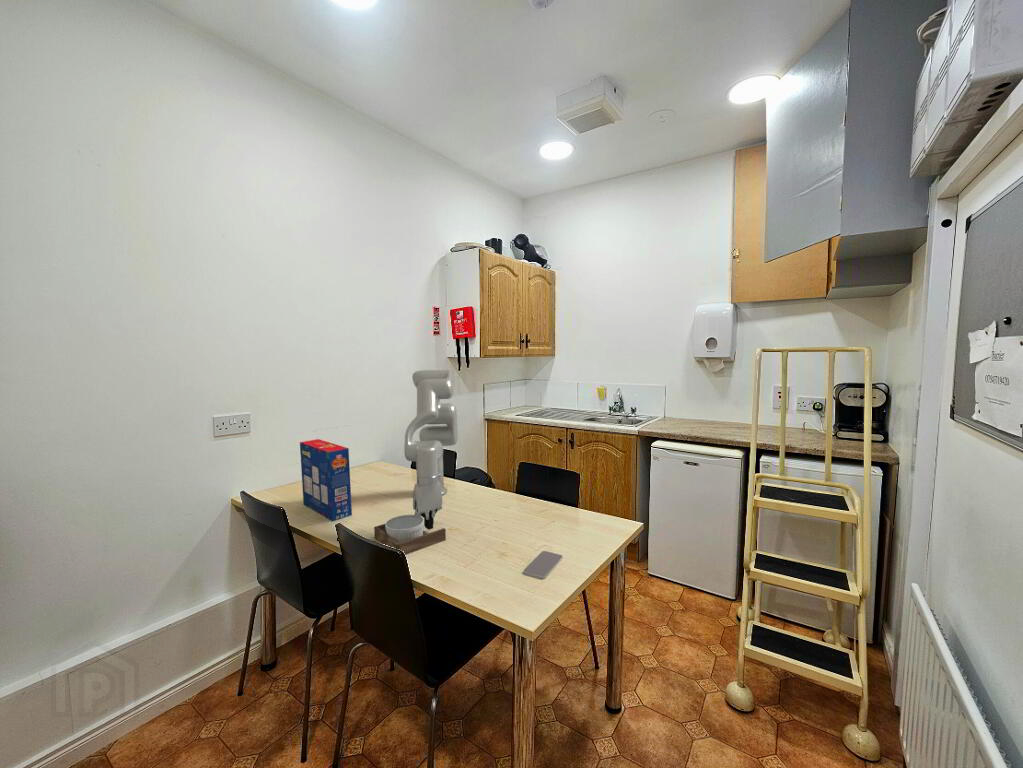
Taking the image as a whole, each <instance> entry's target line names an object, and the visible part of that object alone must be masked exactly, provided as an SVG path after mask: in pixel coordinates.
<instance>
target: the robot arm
mask: <svg viewBox="0 0 1023 768" xmlns="http://www.w3.org/2000/svg"><path fill="white" fill-rule="evenodd" d="M411 376H412V383H413V384H414V386H415V388H416V416H415V417H414V418H413V419H412V420H411V422H410V423H409V425H408V426H407V428H406V429H405V434H404V446H403V447H404V449H403V450H404V451H403V453H404V457H405V459H406V461H408V462H415V463H416V464H415V465H416V483H415V484H414V487H413V492H412V493H413V494H412V495H413V496H412V508H413V510H414V515H415V516H417V517H418V516H421V517H422V518H423V519H424V525H423V527H425V529H427V530H429V531H431V530H433V529H434V524H435V523H434V522H435V521H434V518H435V517H436V514H437V512H439V511H440V510H442V508H443V496H444V495H445V494H447V493H448V488H447V487H445V486H444V484H445V483H444V481H445V480H444V447H449V446H450V447H451V446H455V445H456V444H457V442H458V437H459V436H458V435H459V434H458V414H457V407H456V406H455V405H454V404H453V403H450V402H449V403H448V402H447V403H446V402H445V403H443V402H442V403H441V402H440V400H450V399H451V398H452V397H453V395H454V390H455V389H454V388H455V385H454V384H455V383H454V381H455V380H454V375H453V372H452V371H451V370H449V369H427V370H425V369H424V370H422V369H421V370H417V371H414V372H413V373H412V375H411ZM425 425H427V426H425ZM420 428H421V429H420ZM418 429H420V430H419V433H418V436H419V438H418V439H419V440H417V441H416V440H415V441H414V440H413V437H414V434H415V432H416V431H417V430H418Z"/></svg>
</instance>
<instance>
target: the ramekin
mask: <svg viewBox="0 0 1023 768" xmlns="http://www.w3.org/2000/svg"><path fill="white" fill-rule="evenodd" d="M384 524H385V529H386V531H387V534H388V535H389V536H390V537H391V538H393V539H394V540H395V541H397V542H398V543H402V542H405V541H408V540H411V539H414V538H417V537H419V536H422V535H424V518H423V517H422V516H418V517H417V516H415V514H402V515H398V516H397V515H396V516H394V517H392V518H390V519H389V520H386V522H385V523H384Z"/></svg>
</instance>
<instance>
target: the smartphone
mask: <svg viewBox="0 0 1023 768" xmlns="http://www.w3.org/2000/svg"><path fill="white" fill-rule="evenodd" d="M562 559H563V554H559V553H554V552H551V551H546V550H542V551H541V552H540V553H539V554H538V555H537V556H536V557H535V558H534V559H533V560H532V561H530V563H528V565H526V567H525V568H523V571H522V573H523V574H524V575H525V576H528V577H529V576H530V577H533V578H537V579H540V580H545V579H546V578H547V577H548V576H549V575H550V574H551V572H552V571H553V570H554V569H555V568H556V566H558V564H559V563H560V561H562Z"/></svg>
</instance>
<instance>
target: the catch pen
mask: <svg viewBox="0 0 1023 768" xmlns="http://www.w3.org/2000/svg"><path fill="white" fill-rule="evenodd" d="M385 524H386V523H383V524H382V523H381V524H379V525H376V526H373V529H374V530H373V531H374V533H373V535H374V538H375V539H376V540H377V541H378V542H379V543H380V544H381V543H382V544H381V545H383V544H385V545H388V546H390V547H394V548H396V549H400V550H402V551H404V553H405V554H406V555H409V554H411V553H412V554H413V552H417V551H420V550H422V549H425V548H428V547H430V546H431V547H432V546H433V545H436V544H438V543H442V542H444V541H446V540H447V535H446V530H447V529H446V528H444V527H443V528H441V529H437V530H435V531H432V532H428V533H426V534H423V535H422V536H419V537H417V538H414V539H411V540H408V541H405V542H402V543H398V542H397V541H395V540H394V539H393V538H391V537H390V536H389V535H388V534H387V531H386V529H385Z"/></svg>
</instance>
